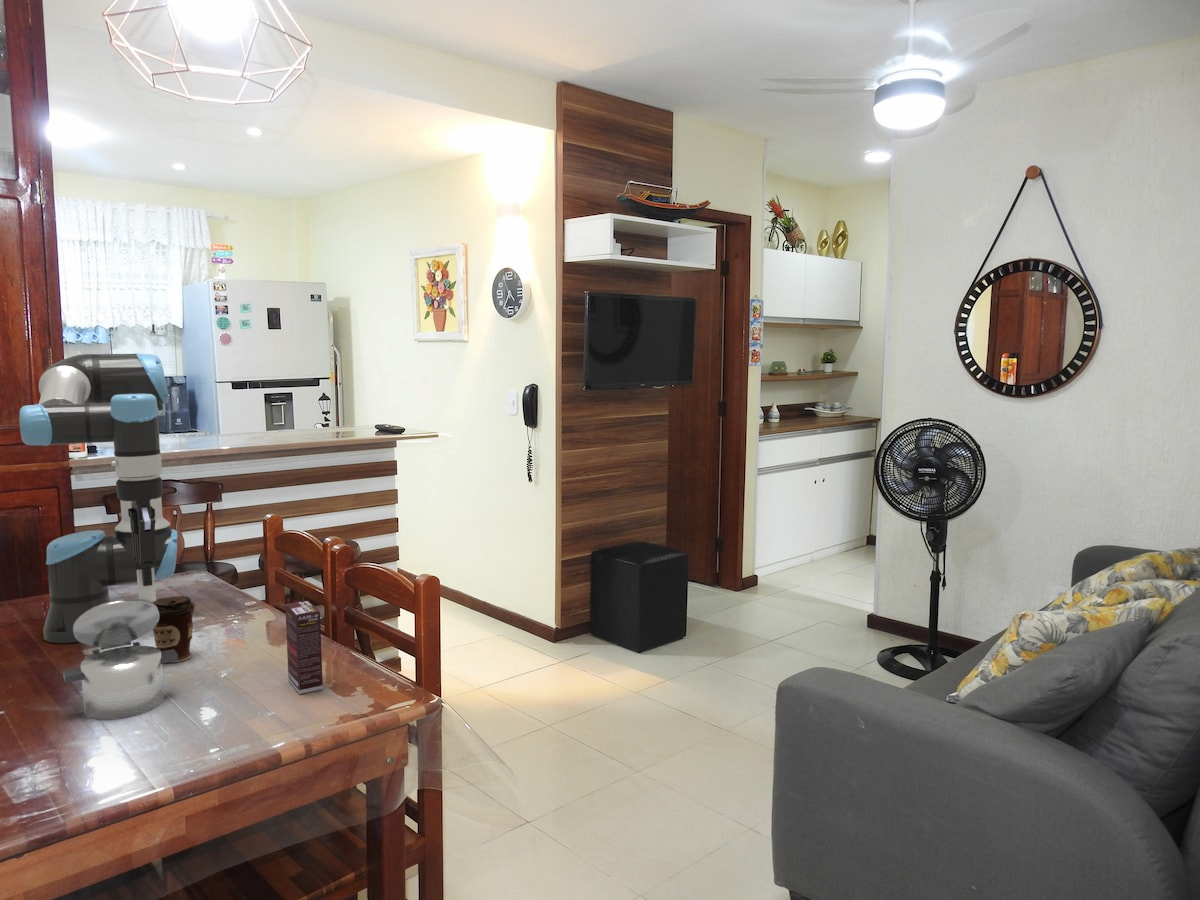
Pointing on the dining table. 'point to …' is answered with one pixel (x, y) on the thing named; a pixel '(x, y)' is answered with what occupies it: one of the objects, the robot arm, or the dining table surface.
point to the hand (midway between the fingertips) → (147, 601)
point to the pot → (121, 681)
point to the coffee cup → (174, 625)
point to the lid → (116, 623)
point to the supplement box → (304, 647)
